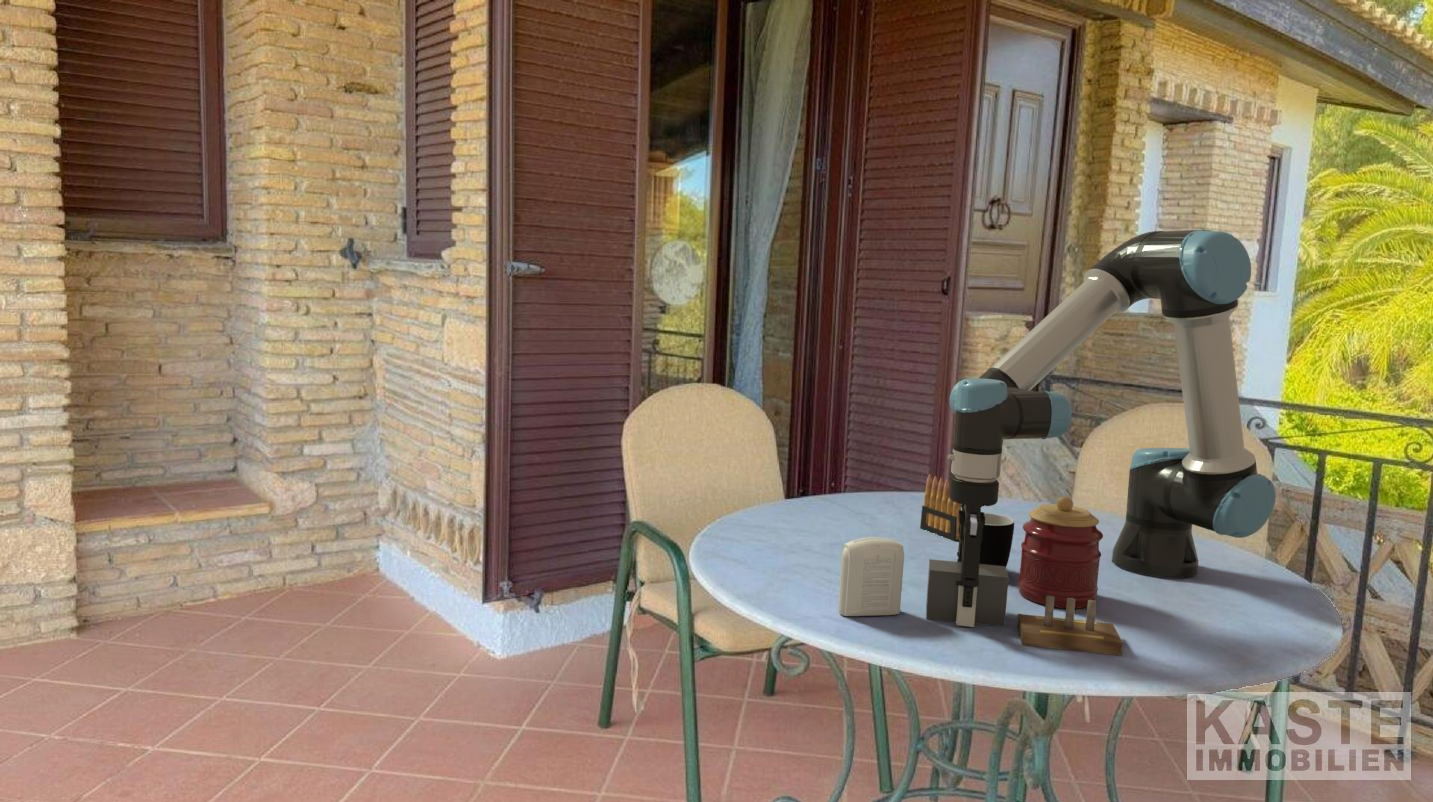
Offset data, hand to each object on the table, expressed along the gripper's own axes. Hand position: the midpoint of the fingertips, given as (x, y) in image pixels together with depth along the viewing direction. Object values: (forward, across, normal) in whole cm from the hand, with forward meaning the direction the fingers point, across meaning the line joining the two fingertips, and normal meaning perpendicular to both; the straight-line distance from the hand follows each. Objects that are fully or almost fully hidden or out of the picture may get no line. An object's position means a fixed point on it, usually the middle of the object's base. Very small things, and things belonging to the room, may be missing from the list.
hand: (963, 614), depth 160 cm
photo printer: (+1, +3, -15) cm, 15 cm away
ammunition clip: (+1, -50, -3) cm, 50 cm away
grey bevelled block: (0, 0, 0) cm, 0 cm away
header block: (0, +6, +15) cm, 16 cm away
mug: (0, -27, +4) cm, 27 cm away
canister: (0, -15, +16) cm, 22 cm away
